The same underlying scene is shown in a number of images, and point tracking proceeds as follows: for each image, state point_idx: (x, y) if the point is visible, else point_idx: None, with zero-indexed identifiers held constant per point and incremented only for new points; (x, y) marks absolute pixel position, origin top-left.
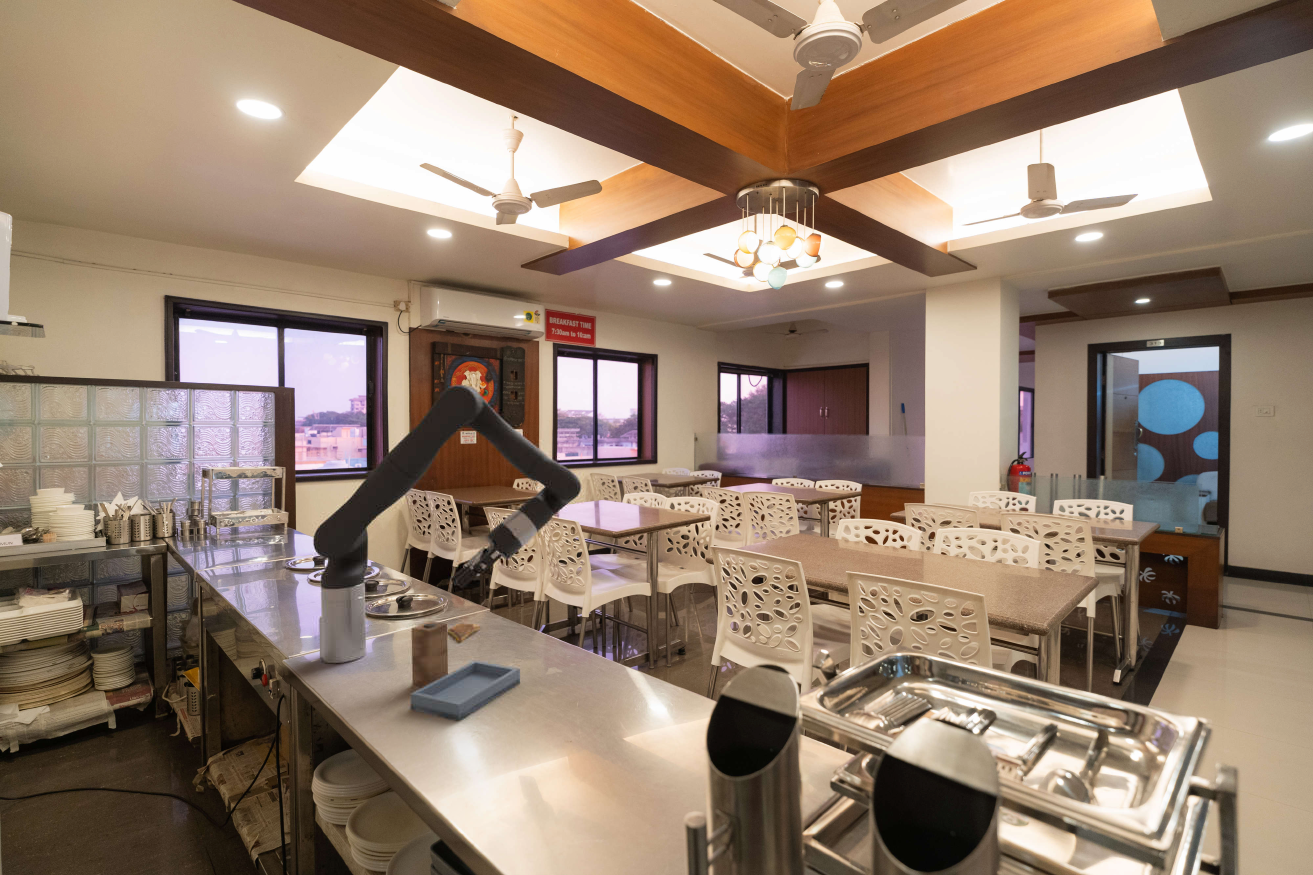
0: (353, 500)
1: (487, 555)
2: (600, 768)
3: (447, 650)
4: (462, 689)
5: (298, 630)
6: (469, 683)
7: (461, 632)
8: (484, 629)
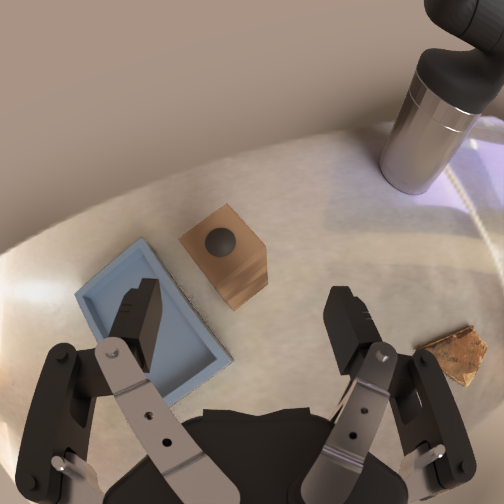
0: None
1: (28, 430)
2: None
3: (225, 300)
4: None
5: (489, 140)
6: (172, 336)
7: (447, 351)
8: (458, 393)
